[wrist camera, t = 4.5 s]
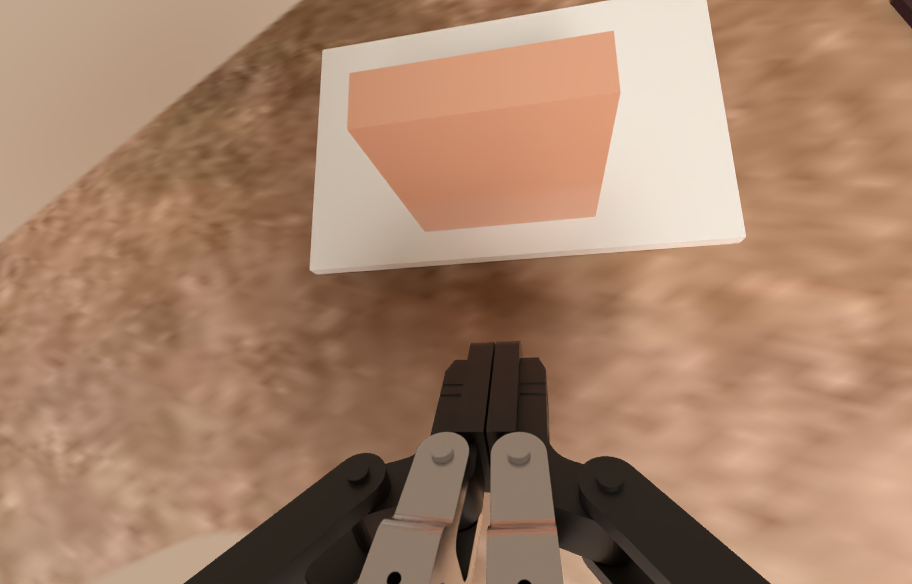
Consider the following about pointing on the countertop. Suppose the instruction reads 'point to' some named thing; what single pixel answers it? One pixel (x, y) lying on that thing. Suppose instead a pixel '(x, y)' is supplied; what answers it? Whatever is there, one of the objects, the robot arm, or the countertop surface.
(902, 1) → the chocolate bar
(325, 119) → the mat
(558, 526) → the robot arm
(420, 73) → the block
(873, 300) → the countertop surface
